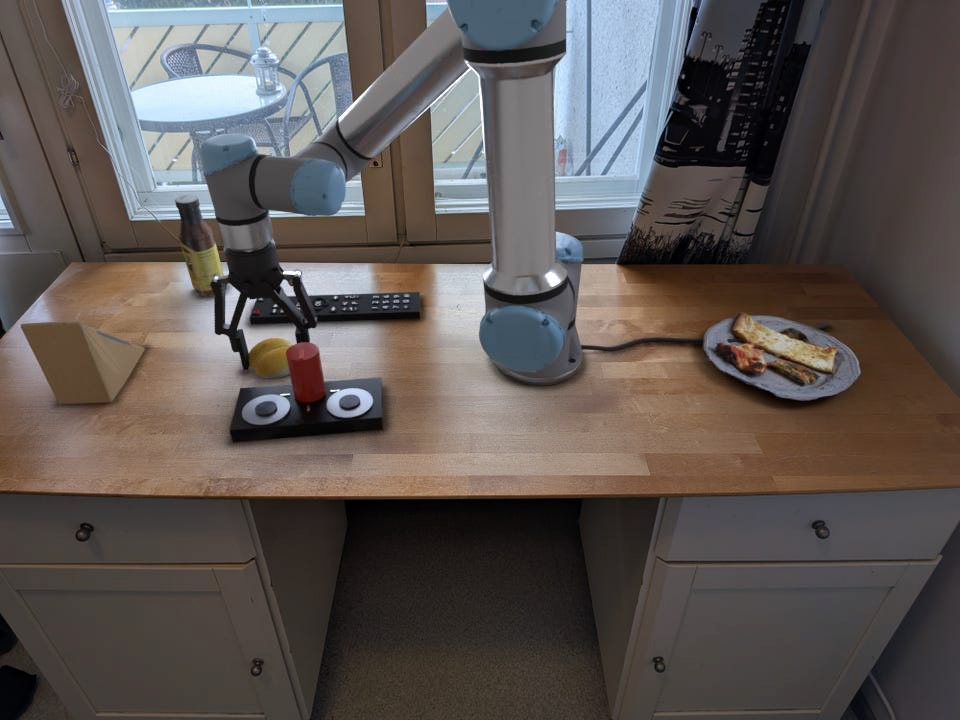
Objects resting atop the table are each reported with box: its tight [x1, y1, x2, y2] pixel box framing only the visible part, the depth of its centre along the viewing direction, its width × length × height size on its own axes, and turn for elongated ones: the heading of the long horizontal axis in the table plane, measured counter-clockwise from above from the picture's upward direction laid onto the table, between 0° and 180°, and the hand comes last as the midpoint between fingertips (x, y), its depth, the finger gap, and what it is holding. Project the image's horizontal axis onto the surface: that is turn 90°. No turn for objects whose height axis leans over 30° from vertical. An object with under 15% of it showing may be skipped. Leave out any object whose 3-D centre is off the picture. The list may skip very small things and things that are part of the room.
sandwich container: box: [20, 321, 146, 405], centre depth 104 cm, size 9×15×15 cm, turn 4°
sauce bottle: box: [174, 194, 225, 297], centre depth 126 cm, size 7×6×20 cm
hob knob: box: [286, 342, 326, 403], centre depth 99 cm, size 5×5×8 cm
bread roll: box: [248, 337, 293, 379], centre depth 110 cm, size 8×9×4 cm
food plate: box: [701, 311, 862, 401], centre depth 112 cm, size 25×23×4 cm
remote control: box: [249, 291, 421, 326], centre depth 125 cm, size 8×32×2 cm, turn 94°
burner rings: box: [242, 388, 373, 426], centre depth 98 cm, size 19×7×1 cm, turn 98°
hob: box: [228, 377, 384, 444], centre depth 101 cm, size 22×12×3 cm, turn 98°
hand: (275, 363), depth 111 cm, fingers closed on bread roll, 9 cm apart
